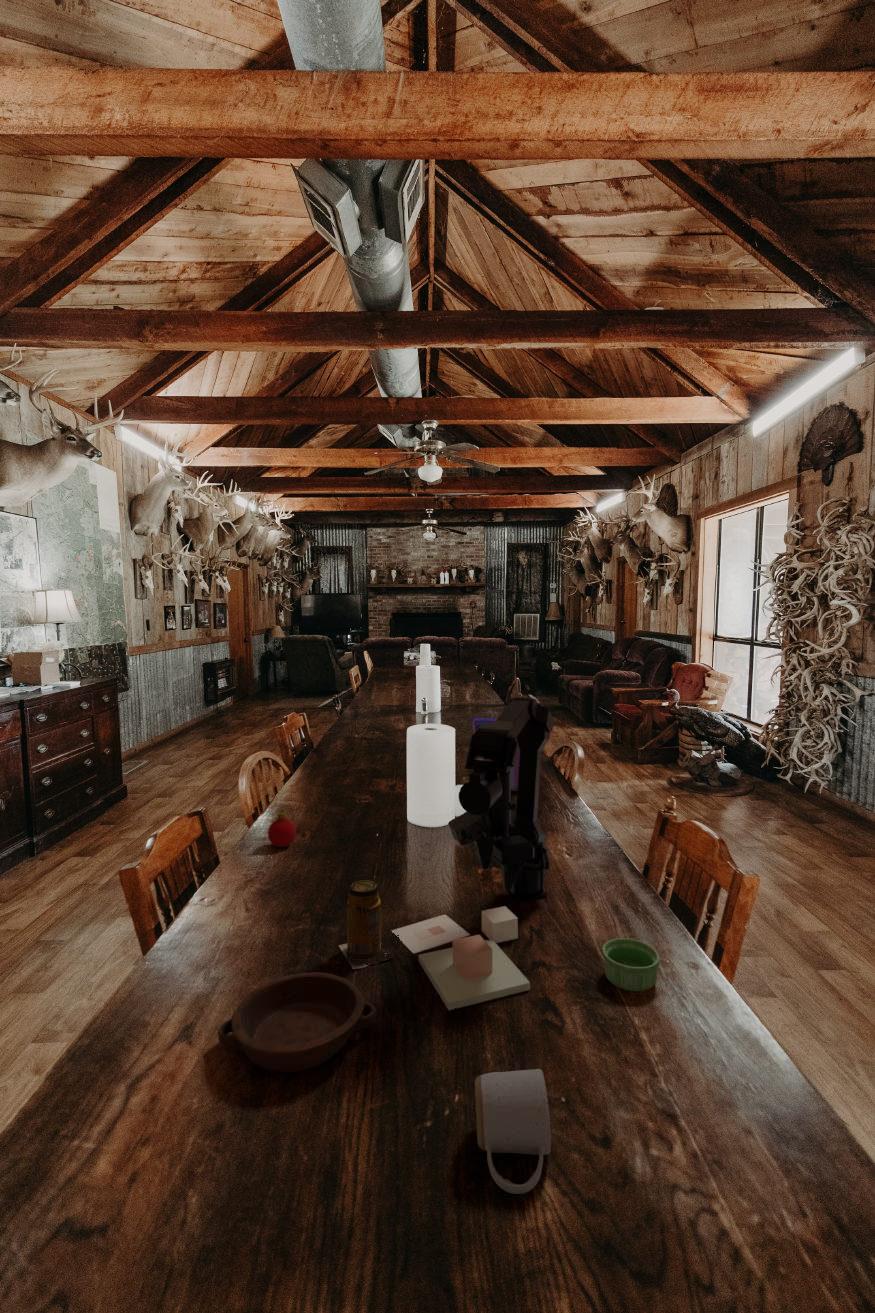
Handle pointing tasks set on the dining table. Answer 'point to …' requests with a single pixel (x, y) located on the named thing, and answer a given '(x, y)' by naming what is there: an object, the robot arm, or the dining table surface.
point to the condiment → (362, 923)
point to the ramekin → (630, 964)
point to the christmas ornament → (282, 831)
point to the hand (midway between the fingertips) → (495, 879)
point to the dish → (297, 1021)
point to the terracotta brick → (472, 956)
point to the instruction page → (430, 933)
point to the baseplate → (474, 989)
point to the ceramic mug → (513, 1119)
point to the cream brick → (499, 924)
